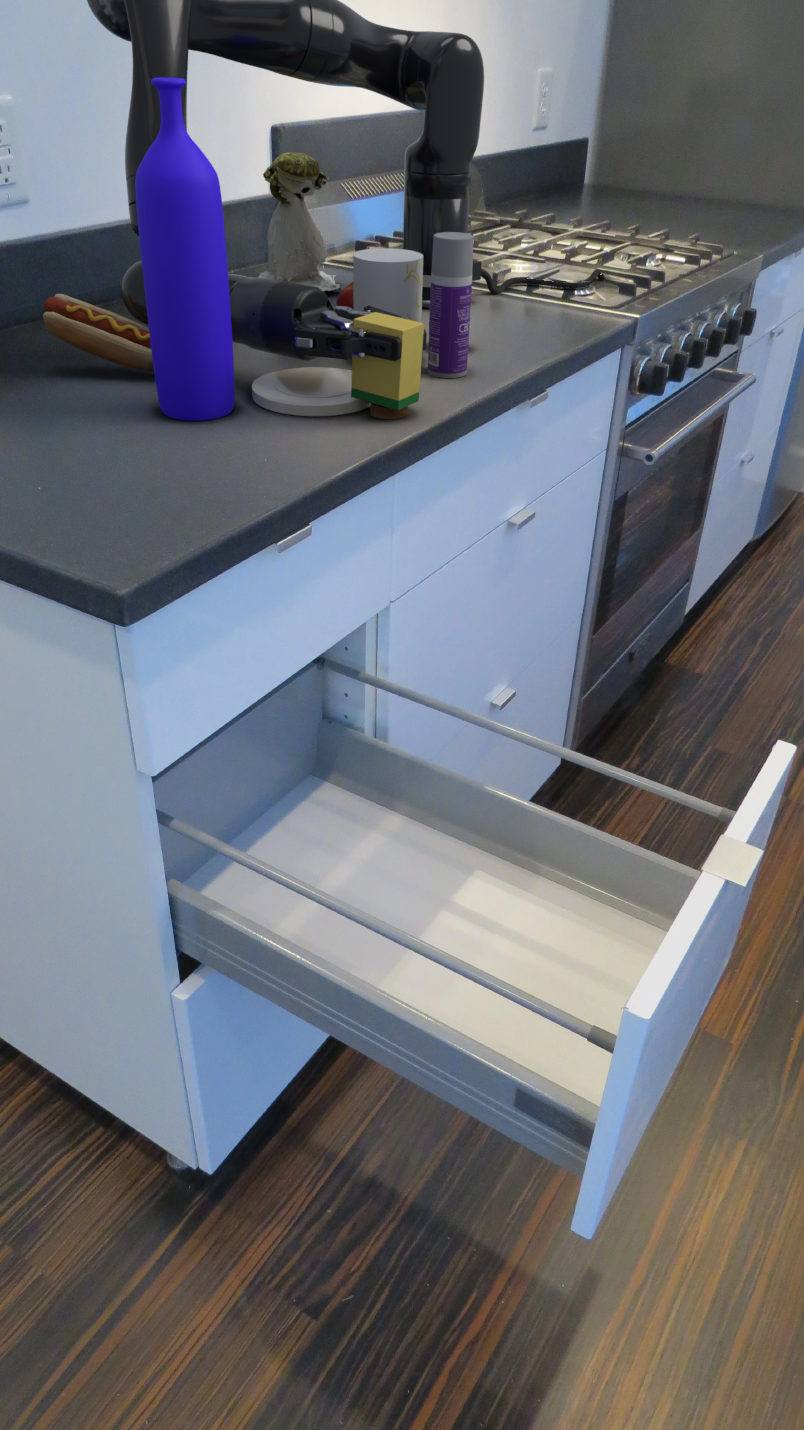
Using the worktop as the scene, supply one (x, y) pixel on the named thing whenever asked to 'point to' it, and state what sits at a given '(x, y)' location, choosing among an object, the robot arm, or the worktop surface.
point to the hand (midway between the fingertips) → (411, 345)
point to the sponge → (389, 364)
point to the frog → (296, 223)
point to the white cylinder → (389, 281)
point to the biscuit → (387, 412)
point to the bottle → (185, 269)
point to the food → (99, 332)
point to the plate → (307, 392)
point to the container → (450, 304)
